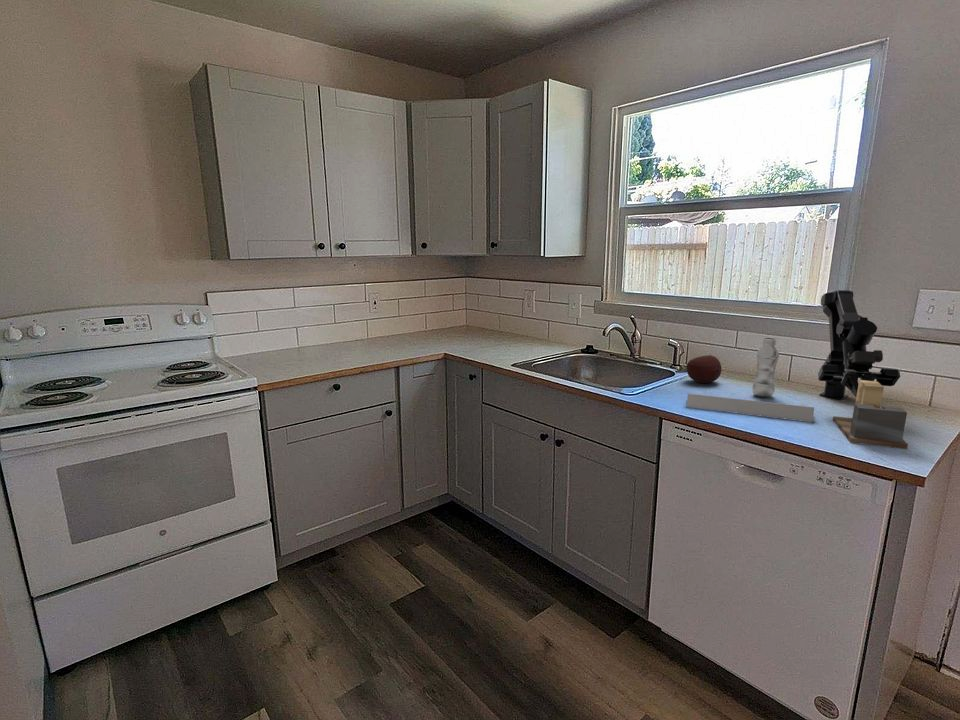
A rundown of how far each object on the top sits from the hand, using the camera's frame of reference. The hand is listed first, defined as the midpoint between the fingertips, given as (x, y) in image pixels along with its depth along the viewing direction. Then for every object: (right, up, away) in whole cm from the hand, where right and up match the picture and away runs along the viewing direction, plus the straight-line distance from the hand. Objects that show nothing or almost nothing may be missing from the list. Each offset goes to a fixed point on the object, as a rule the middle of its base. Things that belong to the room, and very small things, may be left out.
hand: (860, 399), depth 145 cm
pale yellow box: (-3, -7, -5) cm, 9 cm away
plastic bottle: (-13, -1, +27) cm, 30 cm away
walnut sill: (-4, -9, -7) cm, 12 cm away
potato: (-25, +3, +45) cm, 51 cm away
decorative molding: (-25, -5, +14) cm, 29 cm away
